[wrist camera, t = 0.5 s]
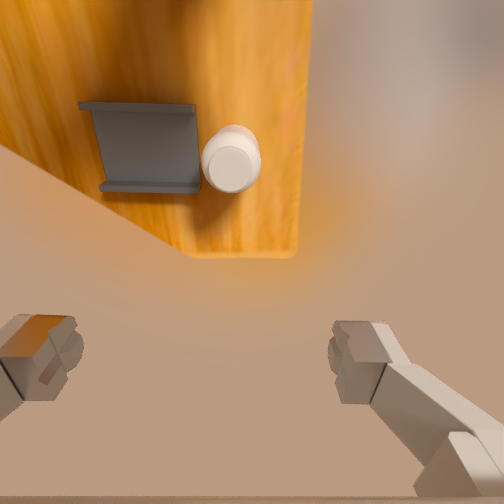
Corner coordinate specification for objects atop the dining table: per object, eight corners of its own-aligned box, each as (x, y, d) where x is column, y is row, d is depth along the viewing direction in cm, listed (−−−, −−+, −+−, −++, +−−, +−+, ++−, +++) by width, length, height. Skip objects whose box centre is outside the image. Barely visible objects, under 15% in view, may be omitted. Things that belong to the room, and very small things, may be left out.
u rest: (90, 101, 42) (77, 101, 39) (195, 104, 43) (191, 105, 40) (109, 185, 49) (100, 191, 46) (201, 187, 49) (197, 193, 46)
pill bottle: (252, 117, 44) (253, 127, 31) (263, 167, 48) (269, 195, 35) (204, 130, 45) (186, 146, 32) (219, 179, 49) (208, 210, 36)
